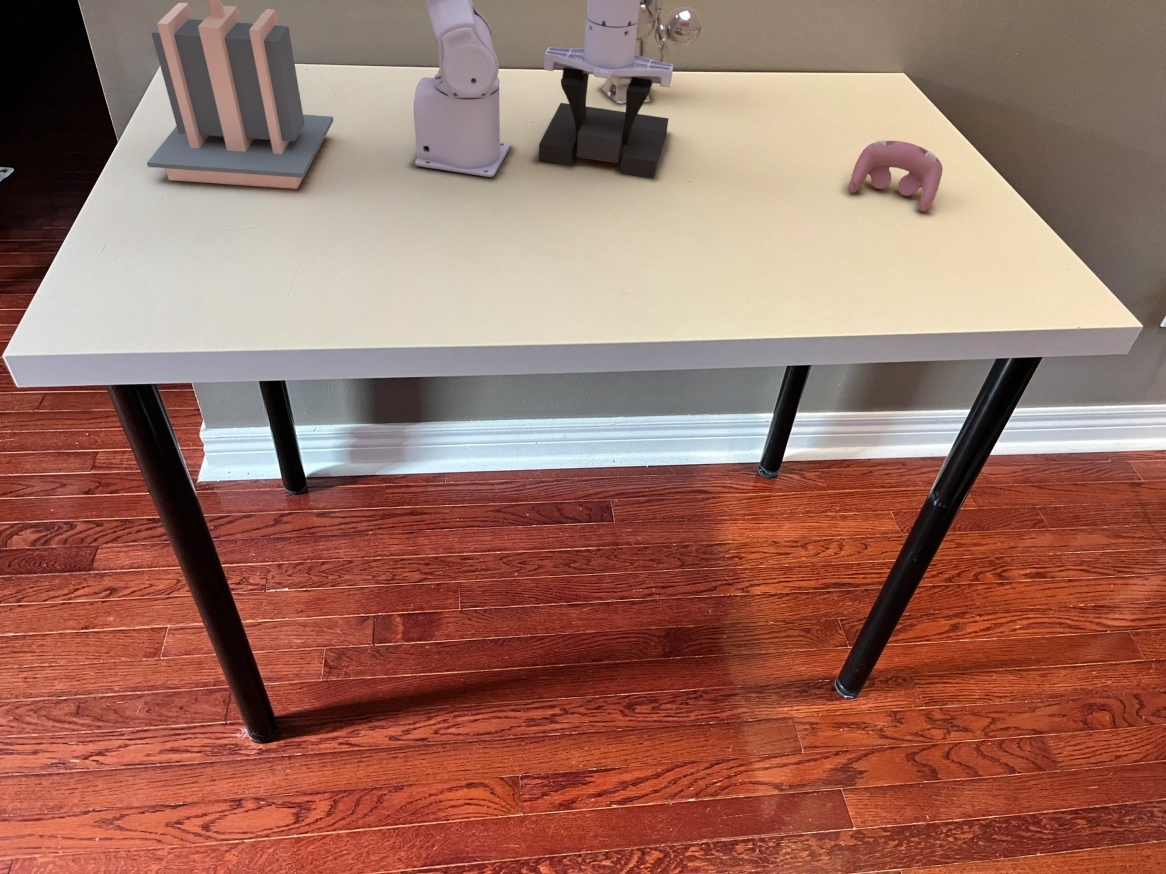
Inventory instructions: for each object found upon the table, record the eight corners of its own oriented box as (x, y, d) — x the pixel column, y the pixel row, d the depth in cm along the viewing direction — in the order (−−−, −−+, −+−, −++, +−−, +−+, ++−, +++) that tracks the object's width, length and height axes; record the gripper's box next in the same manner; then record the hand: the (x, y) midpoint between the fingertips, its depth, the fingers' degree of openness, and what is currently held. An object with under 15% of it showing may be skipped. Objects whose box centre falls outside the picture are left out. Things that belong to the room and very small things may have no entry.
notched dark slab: (538, 161, 106) (539, 143, 104) (559, 119, 114) (560, 102, 113) (653, 178, 104) (655, 161, 103) (666, 134, 113) (668, 118, 111)
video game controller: (928, 213, 105) (950, 154, 103) (929, 213, 101) (952, 151, 99) (847, 192, 108) (867, 133, 106) (844, 191, 104) (865, 130, 102)
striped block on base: (342, 137, 107) (298, -188, 84) (313, 195, 97) (254, -157, 74) (190, 126, 107) (104, -204, 84) (146, 183, 96) (34, -174, 74)
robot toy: (682, 82, 125) (698, -32, 114) (697, 101, 121) (715, -16, 110) (582, 87, 122) (589, -30, 111) (594, 106, 117) (602, -14, 107)
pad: (576, 157, 105) (577, 133, 102) (587, 131, 110) (589, 108, 107) (617, 163, 104) (619, 139, 102) (627, 137, 109) (629, 114, 107)
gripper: (539, 21, 94) (536, 141, 104) (673, 39, 93) (657, 160, 102) (553, 0, 99) (549, 116, 109) (681, 17, 98) (665, 133, 107)
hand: (602, 136), depth 106 cm, fingers closed on pad, 5 cm apart
